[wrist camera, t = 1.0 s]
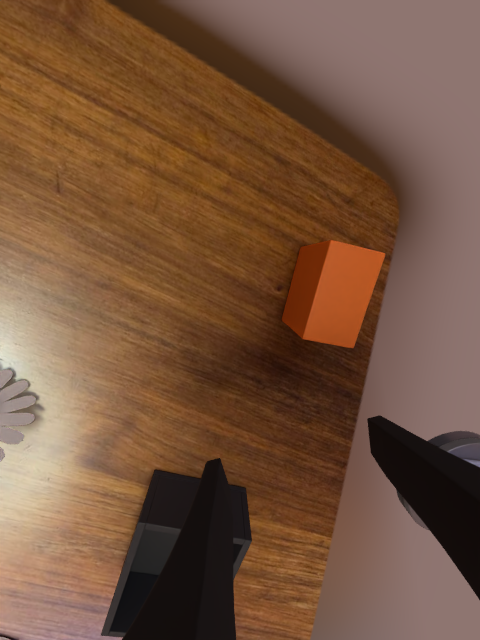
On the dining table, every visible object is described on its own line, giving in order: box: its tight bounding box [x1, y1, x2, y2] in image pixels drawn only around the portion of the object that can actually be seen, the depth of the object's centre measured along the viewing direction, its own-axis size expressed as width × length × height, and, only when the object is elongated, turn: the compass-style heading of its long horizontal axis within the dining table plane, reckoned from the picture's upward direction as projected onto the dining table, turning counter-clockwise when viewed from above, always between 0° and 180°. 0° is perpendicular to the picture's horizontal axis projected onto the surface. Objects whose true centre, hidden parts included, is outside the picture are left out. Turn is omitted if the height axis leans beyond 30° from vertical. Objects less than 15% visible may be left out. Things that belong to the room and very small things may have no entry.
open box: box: [101, 470, 252, 637], centre depth 21 cm, size 9×13×4 cm
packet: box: [282, 240, 385, 348], centre depth 16 cm, size 4×6×5 cm, turn 168°
